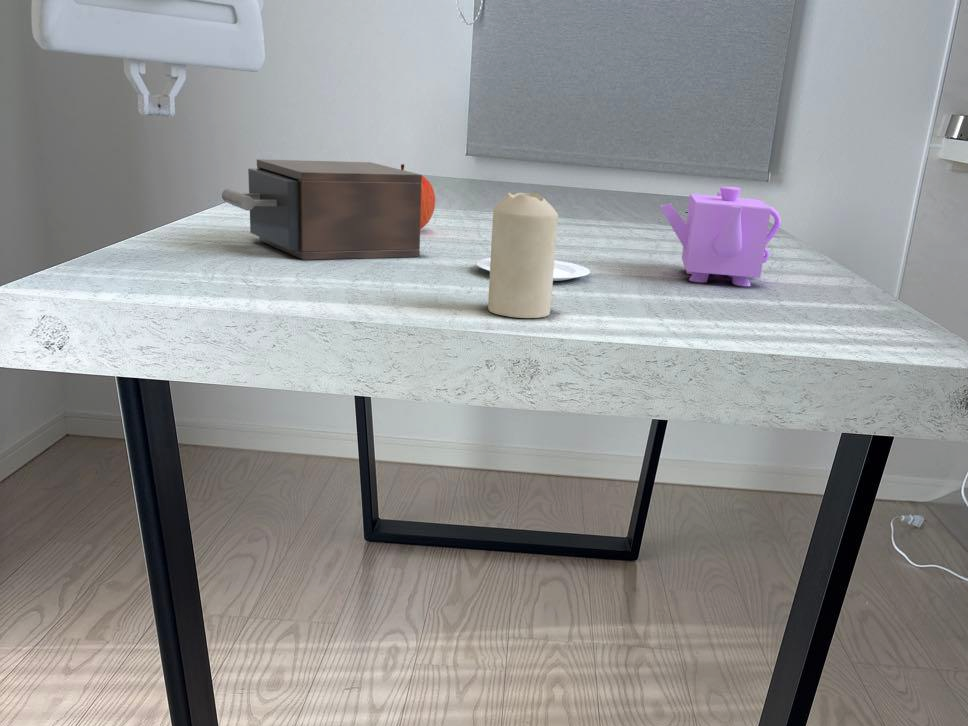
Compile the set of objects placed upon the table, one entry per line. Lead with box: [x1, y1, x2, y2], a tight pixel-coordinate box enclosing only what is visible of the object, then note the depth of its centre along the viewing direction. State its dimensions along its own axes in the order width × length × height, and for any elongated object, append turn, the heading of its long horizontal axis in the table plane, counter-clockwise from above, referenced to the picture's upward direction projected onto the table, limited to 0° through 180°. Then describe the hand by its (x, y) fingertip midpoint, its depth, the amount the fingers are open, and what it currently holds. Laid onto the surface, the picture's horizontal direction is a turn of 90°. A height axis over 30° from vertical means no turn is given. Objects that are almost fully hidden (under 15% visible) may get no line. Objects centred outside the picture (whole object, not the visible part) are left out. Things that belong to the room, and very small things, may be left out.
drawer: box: [221, 168, 300, 250], centre depth 113 cm, size 16×11×7 cm
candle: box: [487, 192, 559, 319], centre depth 91 cm, size 6×6×10 cm
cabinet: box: [256, 158, 423, 261], centre depth 115 cm, size 14×13×9 cm
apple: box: [400, 163, 436, 230], centre depth 132 cm, size 8×8×8 cm
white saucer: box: [475, 257, 591, 282], centre depth 110 cm, size 12×12×4 cm
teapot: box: [660, 185, 782, 287], centre depth 115 cm, size 18×13×10 cm
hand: (156, 115), depth 99 cm, fingers closed
